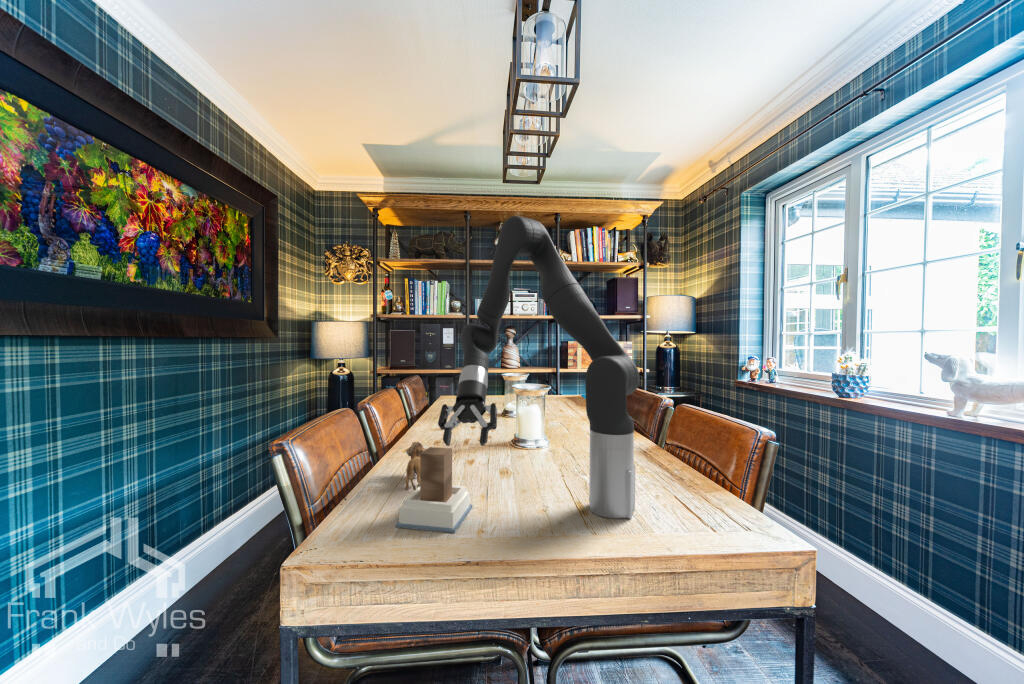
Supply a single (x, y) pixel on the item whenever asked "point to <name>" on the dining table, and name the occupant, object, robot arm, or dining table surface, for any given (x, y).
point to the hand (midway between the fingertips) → (464, 444)
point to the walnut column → (436, 474)
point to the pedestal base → (435, 511)
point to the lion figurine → (414, 463)
